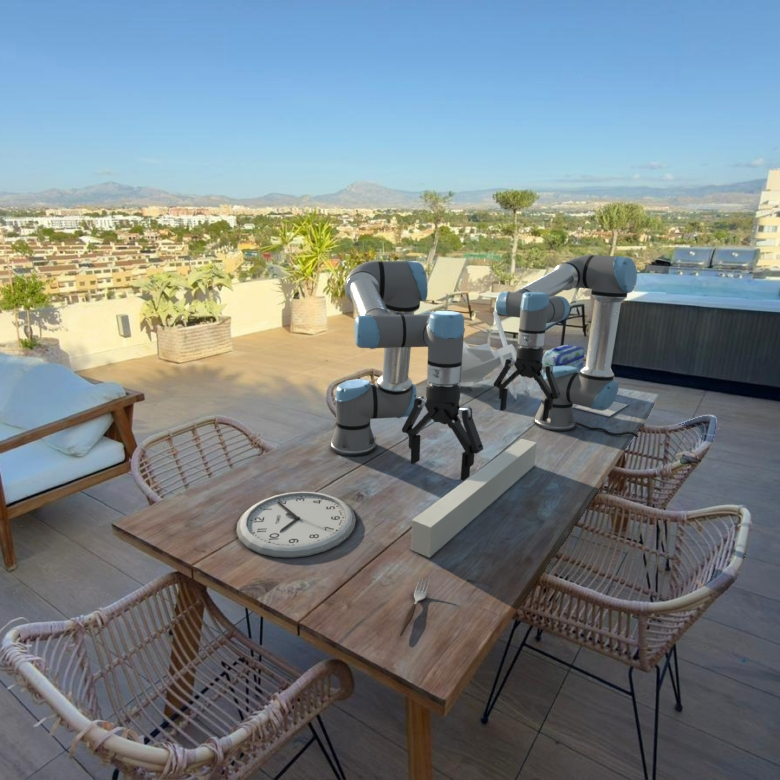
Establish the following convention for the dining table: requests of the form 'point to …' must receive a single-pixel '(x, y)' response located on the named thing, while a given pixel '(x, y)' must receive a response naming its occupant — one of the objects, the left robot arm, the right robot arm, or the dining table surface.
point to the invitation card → (608, 412)
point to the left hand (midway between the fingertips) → (439, 469)
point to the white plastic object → (488, 360)
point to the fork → (418, 596)
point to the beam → (470, 498)
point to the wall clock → (296, 524)
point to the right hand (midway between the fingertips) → (523, 414)
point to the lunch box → (564, 357)
